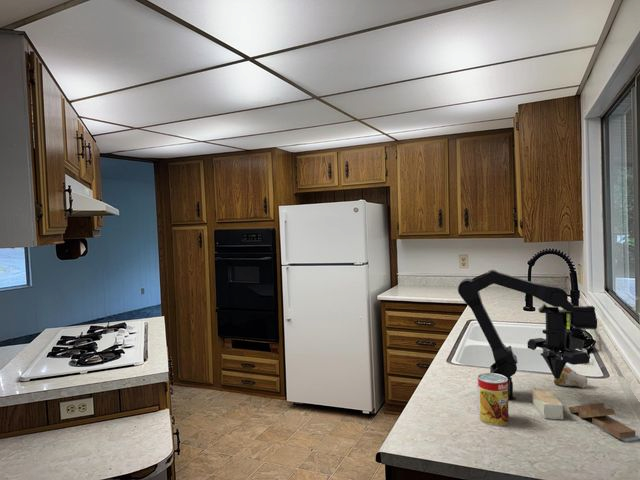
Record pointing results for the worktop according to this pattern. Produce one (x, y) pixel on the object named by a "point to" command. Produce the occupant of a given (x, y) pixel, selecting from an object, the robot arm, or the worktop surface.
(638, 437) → the domino
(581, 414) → the domino
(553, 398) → the box
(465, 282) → the robot arm
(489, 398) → the canned food
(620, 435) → the domino
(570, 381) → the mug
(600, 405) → the domino
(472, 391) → the worktop surface
